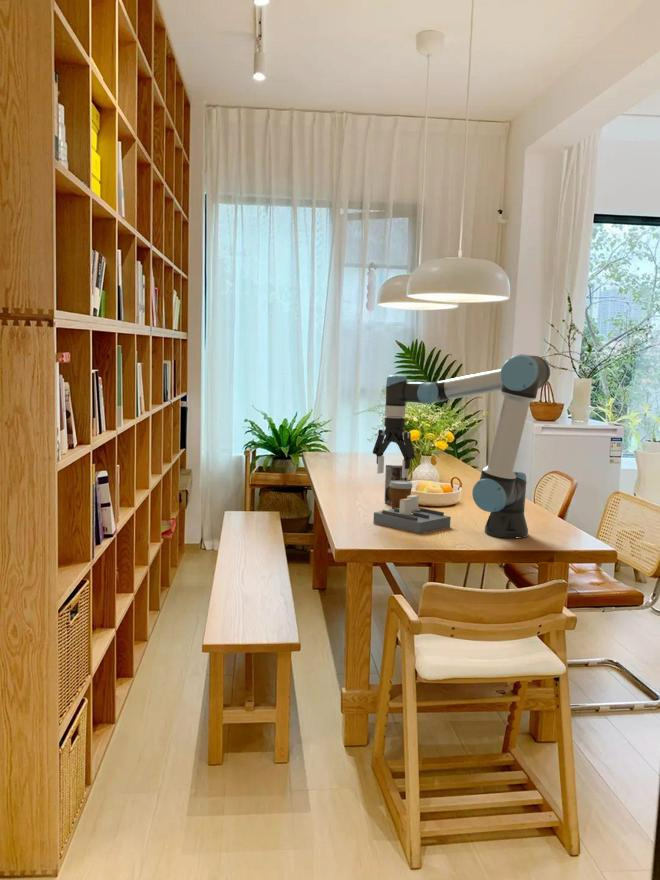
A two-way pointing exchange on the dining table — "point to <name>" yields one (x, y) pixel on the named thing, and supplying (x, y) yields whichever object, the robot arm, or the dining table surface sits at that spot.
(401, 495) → the disposable coffee cup
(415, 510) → the dark grey tray
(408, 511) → the breaker slider
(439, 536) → the dining table surface
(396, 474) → the coffee box
